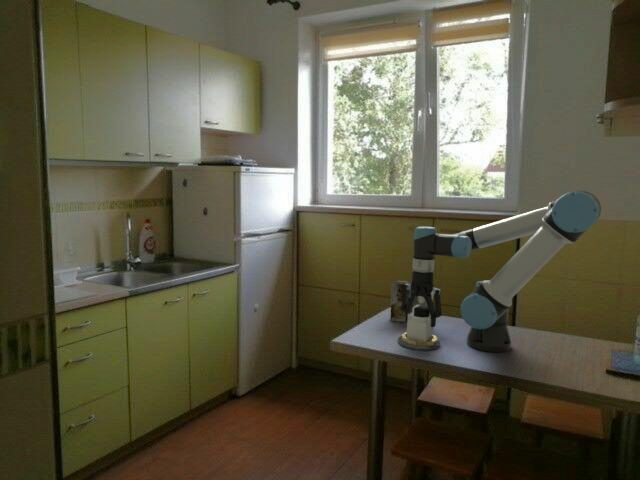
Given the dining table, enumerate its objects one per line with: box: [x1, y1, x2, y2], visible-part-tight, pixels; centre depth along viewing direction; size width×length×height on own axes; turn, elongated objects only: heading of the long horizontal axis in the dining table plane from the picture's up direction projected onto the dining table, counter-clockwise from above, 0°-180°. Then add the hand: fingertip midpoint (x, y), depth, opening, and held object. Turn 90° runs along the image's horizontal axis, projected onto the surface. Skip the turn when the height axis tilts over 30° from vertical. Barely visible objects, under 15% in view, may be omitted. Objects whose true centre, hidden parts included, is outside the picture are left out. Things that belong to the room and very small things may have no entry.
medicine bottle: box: [406, 304, 432, 341], centre depth 176 cm, size 7×7×12 cm
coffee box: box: [389, 279, 414, 323], centre depth 205 cm, size 9×6×16 cm
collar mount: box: [397, 331, 441, 352], centre depth 177 cm, size 15×15×2 cm
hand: (419, 332), depth 176 cm, fingers closed on medicine bottle, 7 cm apart
